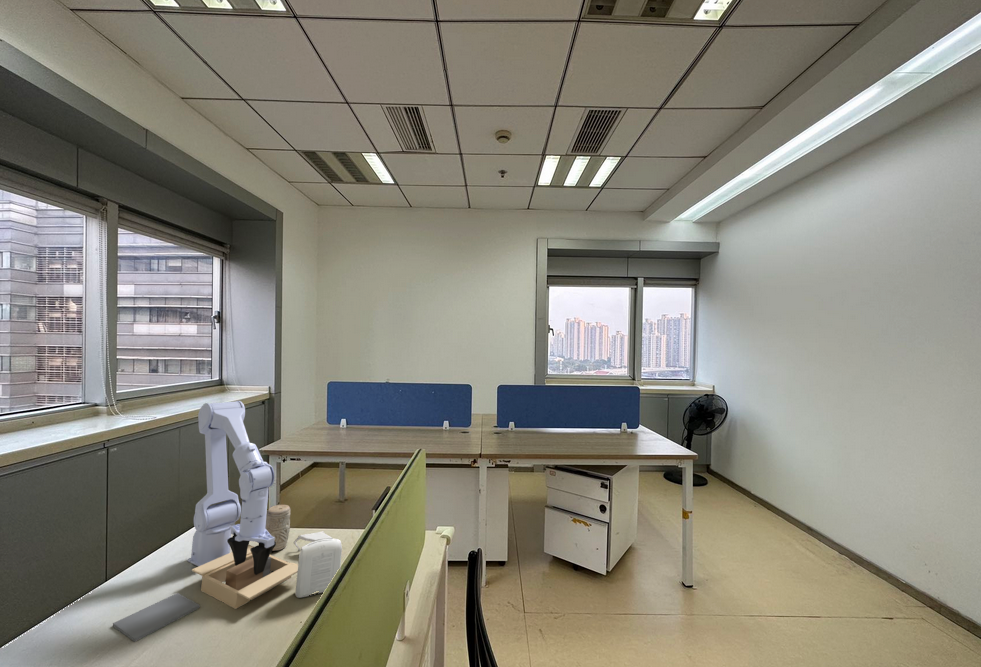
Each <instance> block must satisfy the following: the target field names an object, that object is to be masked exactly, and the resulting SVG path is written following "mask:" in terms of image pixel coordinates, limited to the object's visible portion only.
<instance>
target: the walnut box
mask: <svg viewBox="0 0 981 667" xmlns="http://www.w3.org/2000/svg"><path fill="white" fill-rule="evenodd" d="M270 568H271V557H268V560H267V562H266V565H265V568H264V571H263V572H261V573H259V574H257V575H255V574H254V560H253V558H252V559H250V560H247V561H245V562H243V563H241V564H239V565H237V566H235V567H233V568H230V569H228V570H227V572H226V581H225V583H224V584H226V585H228V586H230V587H232V588H234V589H236V590H238V591H239V590H240V589H242V588H244V587H246V586H248V585H250V584H252V583H254V582H256V581H257V580H259V579H261V578H263V577H265V576H267V575H269V574H271V571H270Z"/></svg>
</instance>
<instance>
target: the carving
mask: <svg viewBox="0 0 981 667" xmlns="http://www.w3.org/2000/svg"><path fill="white" fill-rule="evenodd" d="M267 509H268V510H267V514H266V526H265V529H266V530H267V531H268V532H269V533H270V535H271V536H273V537H275V540H274V541H275V542H276V546H275V547H274V548H273V550H272V551H281V550H282V549H284V548H286V546H287V544H288V541H289V536H290V535H289V534H290V530H291V525H290V524H291V507H290V506H289V505H288V504H275V505H274V506H271V507H269V508H267Z"/></svg>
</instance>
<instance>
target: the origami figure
mask: <svg viewBox="0 0 981 667" xmlns="http://www.w3.org/2000/svg"><path fill="white" fill-rule="evenodd" d="M322 539H334V538H333V537H332V536H330V535H328V534H327V533H325V531H324V530H322V531H317V532H312V533H305V534H299V535H298V537H297V538H296V539H295V540H294V541H293V544H294V545H295V547H296V548H297V549H298V551H301V548H300V547H299V545H298V543H297V542H298V541H299V540H303V541H304V542H309V543H311V542H314V541H318V540H322Z"/></svg>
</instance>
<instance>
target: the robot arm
mask: <svg viewBox="0 0 981 667" xmlns="http://www.w3.org/2000/svg"><path fill="white" fill-rule="evenodd" d="M197 416H198V418H197V419H198V420H197V421H198V432H199V433H200V434H202V435H204V443H205V466H206V468H205V469H206V470H205V471H206V473H205V474H206V491H207V493H206V494H205V495H204V496H203V497H202V498H201V499H200V500H199V501H198V502H197V503H196V504H195V509H194V515H193V526H194V529H195V530H196V531H195V532H194V534H193V536H192V544H191V554H190V555H191V556H190V557H188V558H187V562H188V563H191V564H192V565H195V566H196V567H199V566H201V565H203V564H205V563H208V562H210V561H212V560H215V559H217V558H219V557H222V556H224V555H226V554H229V553H231V552H232V553H233V557H234V562H235V566H237V565H239V564H241V563H243V562H245V560H246V555H247V549H248V545H250V542H255V543H258V545H255V546H254V547H253V548H251V549H250V551H251V553H252V555H253V560H254V574H255V575H257V574H259V573H261V572H263V571H264V568H265V565H266V562H267V560H268V557H269V555H271V553H272V550H273V548H274V547H275V546H276V542H275V541H274V540H275V537H273V536H271V535H270V533H269V532H268V531H267V530H266V529H265V526H266V514H267V511H268V510H267V509H268V500H269V489H270V488H269V487H272V486H273V484H274V482H275V477H276V476H275V470H274V468H273V465H271V464H269V463H268V462H267V461H264V459H263V458H262V454H261V453H260V451H259V448H258V447H257V445H256V444H255V443H253V442H250V439H249V436H248V433H247V429H246V426H245V423H244V420H245V416H246V407H245V404H244V403H243V401H241V400H236V401H235V400H234V401H223V402H205V403H203V405H201V407H200V409H199V411H198V413H197ZM227 437H228V439H229V441H230V443H231V444H232V446H233V448H234V451H233V453H232V458H233V460H234V462H235V465H236V467H237V469H238V472H239V475H240V476H239V479H238V485H239V490H240V494H239V495H240V499H242V500H241V503H240V501H239V495H238V494H237V493H236V492H233V491H231V490H229V477H228V476H229V474H228V454H227V451H228V450H227ZM239 519H240V520H239ZM238 520H239V521H240V523H237V524H236V522H237V521H238ZM230 550H231V551H230Z"/></svg>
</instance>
